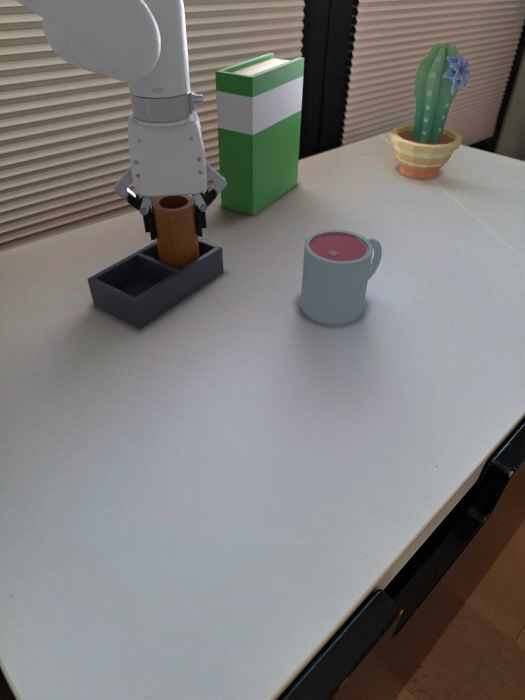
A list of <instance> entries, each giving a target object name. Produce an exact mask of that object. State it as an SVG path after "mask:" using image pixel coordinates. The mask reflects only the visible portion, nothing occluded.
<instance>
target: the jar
mask: <svg viewBox="0 0 525 700" xmlns="http://www.w3.org/2000/svg"><path fill="white" fill-rule="evenodd" d="M195 205H196V202H195V200H194V199H193V197H192V195H191V194H190V195H175V196H158V197H153V199H152V202H151V208H152V213H153V220H154V227H155V234H156V239H155V241H157V248H158V255H159V259H160V261H161V262H163V263H165V264H168V265H170V266H172V267H184V266H187V265H188V264H190V263H191V262H193V261H195V260H196V259H198V258H199V242H198V238H199V236H198V232H197V220H196V207H195Z"/></svg>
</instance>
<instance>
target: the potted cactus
mask: <svg viewBox="0 0 525 700" xmlns="http://www.w3.org/2000/svg"><path fill="white" fill-rule="evenodd" d="M415 71H416V72H415V76H414V85H413V96H414V102H415V109H414V110H415V111H414V121H413V123H409V124H401V125H398V126H395V127H393V128H392V129H391V131H390V142H391V143H392V144H393V149H394V150H393V151H394V156H395V158H396V160H397V162H398V164H399V167H398V172H399V173H400V174H402V175H403V176H405V177H409V178H412V179H421V180H427V179H434V178H435V177H437V176H439V171H440V169H441V168H442V167H444V166H445V165H446V164H447V163H448V162H449V160H450V159H451V157H452V155H453V154H454V152H455V151H456V150H459V148H460V146H461V144H462V143H463V135H462V134H460V133H459V132H457V131H456V130H453V129H451V128H447V127H445V125H446V122H447V118H448V115H449V110H450V108H451V105H452V103H453V101H454V99H455V98H456V95H457V94H458V92H459V89H460V87H462V90H465V89H466V88H467V84H468V80H469V78H470V76H471V69H470V63H469V61H468V60H467V59H465V57H464V56H463V55H462V54H461V53H460V52H459V50H458V47H457V45H456V44H455V45H450V43H444V45H442V44H440V43H436V44H435V45H433V47H432V48H431V49H430V50H429V51H428V52H427V54H426V55H425V56H424V57H423V59H421V61H420V63H419V64H418V66H417V67H416V70H415Z"/></svg>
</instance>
